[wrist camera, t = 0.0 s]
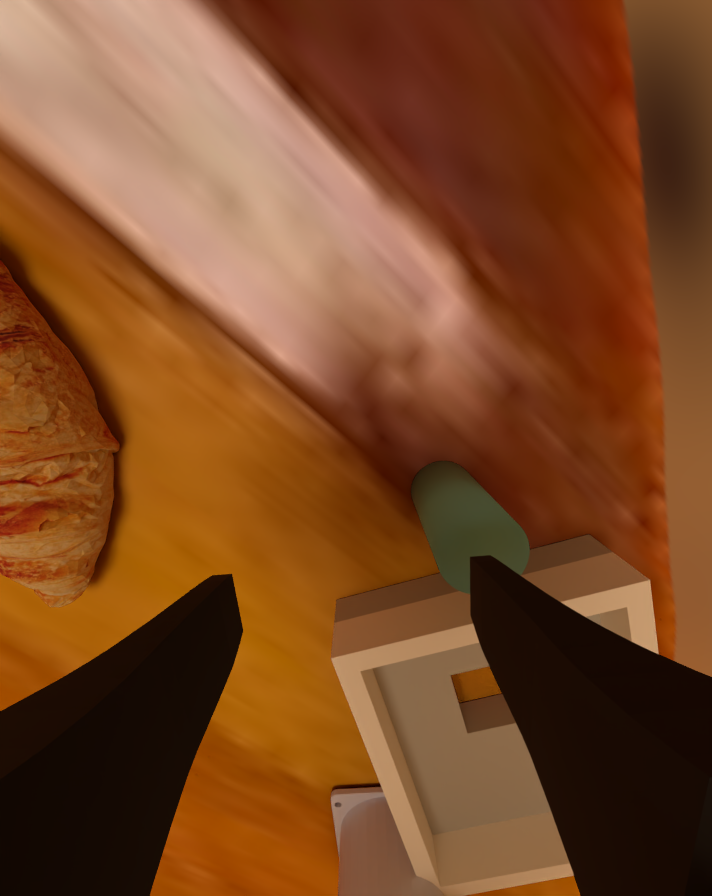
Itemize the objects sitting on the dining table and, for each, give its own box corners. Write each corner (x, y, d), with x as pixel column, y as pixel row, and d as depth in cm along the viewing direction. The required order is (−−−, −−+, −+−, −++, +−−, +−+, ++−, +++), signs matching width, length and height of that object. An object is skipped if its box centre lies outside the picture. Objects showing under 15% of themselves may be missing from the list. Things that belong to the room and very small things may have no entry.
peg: (472, 516, 21) (528, 591, 14) (412, 520, 21) (438, 598, 14) (472, 458, 20) (531, 509, 13) (409, 463, 20) (435, 516, 13)
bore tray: (626, 771, 25) (682, 855, 21) (415, 814, 27) (426, 902, 22) (589, 534, 21) (650, 579, 17) (336, 599, 22) (330, 658, 18)
